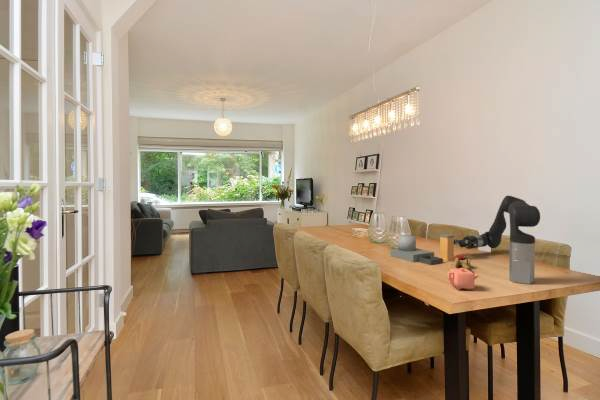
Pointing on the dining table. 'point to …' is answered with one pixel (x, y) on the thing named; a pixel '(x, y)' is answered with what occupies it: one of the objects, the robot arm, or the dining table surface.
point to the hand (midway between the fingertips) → (454, 244)
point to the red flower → (462, 262)
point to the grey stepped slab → (413, 251)
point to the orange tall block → (447, 247)
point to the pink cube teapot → (462, 278)
